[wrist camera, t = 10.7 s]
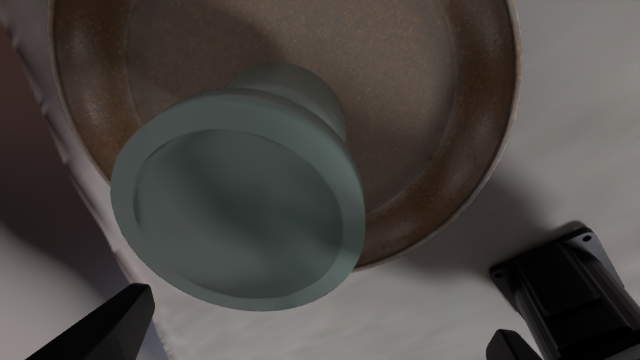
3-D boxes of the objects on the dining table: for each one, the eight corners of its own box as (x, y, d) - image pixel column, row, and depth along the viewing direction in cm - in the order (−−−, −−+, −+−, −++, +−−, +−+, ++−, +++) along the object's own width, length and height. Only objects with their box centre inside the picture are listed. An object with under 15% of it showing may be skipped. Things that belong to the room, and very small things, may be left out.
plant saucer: (412, 269, 25) (420, 309, 22) (118, 213, 24) (88, 247, 21) (589, -91, 14) (651, -103, 11) (52, -226, 13) (-33, -278, 10)
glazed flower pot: (391, 147, 16) (414, 255, 10) (273, 217, 19) (236, 336, 13) (290, 6, 13) (240, 38, 7) (170, 112, 16) (60, 199, 10)
